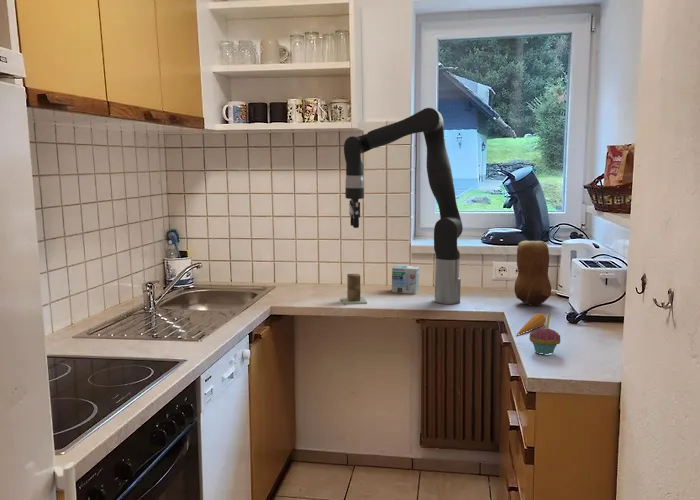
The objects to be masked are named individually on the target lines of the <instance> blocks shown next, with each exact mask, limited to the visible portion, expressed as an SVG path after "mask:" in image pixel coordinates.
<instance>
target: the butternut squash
mask: <svg viewBox="0 0 700 500" xmlns="http://www.w3.org/2000/svg"><path fill="white" fill-rule="evenodd" d="M516 266H517V272H518V273H517V276H516V278H515V281H514V294H515V297H516V299H518V300H520V301H521V302H522V303H524V304H525V305H529V304H531V305H530V306H532V305H537V306H540V305H542V304H544V303H545V302H546V301H548V300H549V298H550V296H551V295H552V283H551V281H550V277H549V266H550V252H549V247H548V244H547V243H546V241H545V242H544V241H543V240H522V241H520V242H518V245H517V249H516Z"/></svg>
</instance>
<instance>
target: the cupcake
mask: <svg viewBox="0 0 700 500" xmlns="http://www.w3.org/2000/svg"><path fill="white" fill-rule="evenodd" d="M550 318H551V313H550V310H549V311H548V313H547V317H546V327H545V328H544V327H543V328H542V327H538V328H536V329H533V330H532V331H530V334H529V342H531V343H532V345H533V347H534V352H535V351H536V352H538V353H543V354H549V353H553V354H554V351H555V349H556V347H557V345H559V344H561V334H559V332H557V331H556V330H554V329H551V328H549V327H550ZM536 352H535V353H536Z"/></svg>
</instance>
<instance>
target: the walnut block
mask: <svg viewBox="0 0 700 500" xmlns="http://www.w3.org/2000/svg"><path fill="white" fill-rule="evenodd" d="M346 275H347V277H346V280H347V286H346V288H347V290H346V291H347V292H346V293H347V295H346V296H347V297H346V298H347V299H348V301H360V297H361V275H360V273H346Z"/></svg>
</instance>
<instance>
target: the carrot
mask: <svg viewBox="0 0 700 500" xmlns="http://www.w3.org/2000/svg"><path fill="white" fill-rule="evenodd" d="M546 323H547V317H546V316H545V315H544V314H543V313H540V312H539V313H535V314H534V315H533V316H532V317H530V319H529V320H528V321H527V322H526V323H525V324H524V325H523V326H522V328H521V329H519V331H518V332H517V333H516V335H518V334H521V333H523V332H526V331H529V330H531V329H533V330H535V329H534V328H536V327H538V328H540V327H542V326H543V324H544V325H545V324H546ZM541 325H542V326H541ZM539 326H540V327H539ZM536 329H537V328H536ZM531 331H532V330H531ZM529 332H530V331H529ZM526 333H527V332H526ZM521 335H522V334H521Z"/></svg>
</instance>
